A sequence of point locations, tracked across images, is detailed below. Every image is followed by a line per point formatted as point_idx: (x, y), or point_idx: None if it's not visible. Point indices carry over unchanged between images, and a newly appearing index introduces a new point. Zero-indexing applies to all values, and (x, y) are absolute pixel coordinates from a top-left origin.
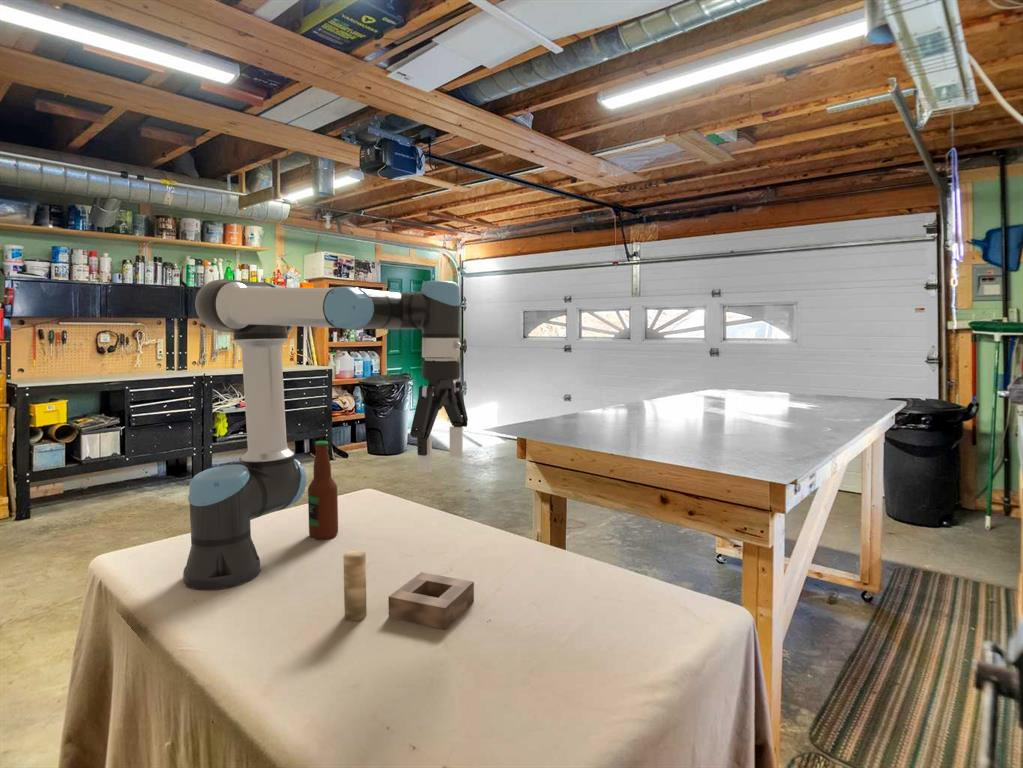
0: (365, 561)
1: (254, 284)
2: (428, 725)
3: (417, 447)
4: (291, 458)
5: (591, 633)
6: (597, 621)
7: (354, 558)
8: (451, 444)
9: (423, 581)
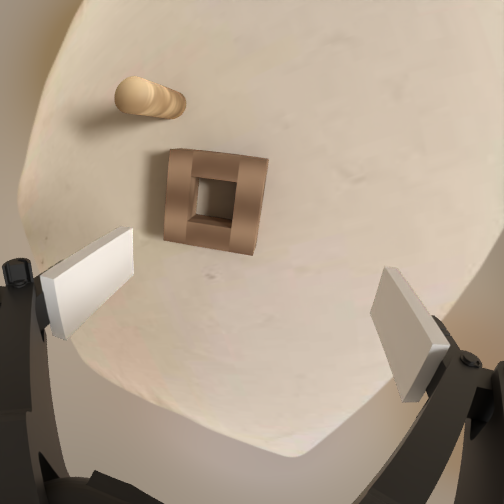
0: (141, 112)
1: None
2: None
3: (68, 257)
4: None
5: (218, 373)
6: (244, 378)
7: (116, 105)
8: (397, 300)
9: (232, 178)
